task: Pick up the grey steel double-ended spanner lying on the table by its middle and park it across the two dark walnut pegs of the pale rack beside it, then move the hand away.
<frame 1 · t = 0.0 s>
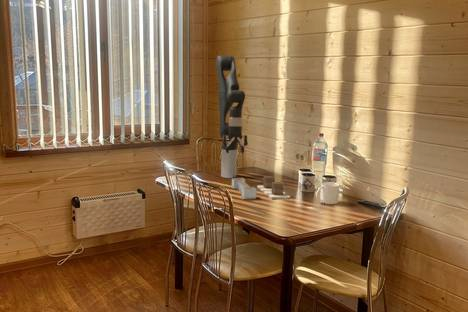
hand: (234, 153, 265), 17 cm above the table, tool pointing down, fingers open, 8 cm apart
peg rack: (272, 192, 246), on the table
mug: (326, 202, 231), on the table
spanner: (243, 192, 244), on the table
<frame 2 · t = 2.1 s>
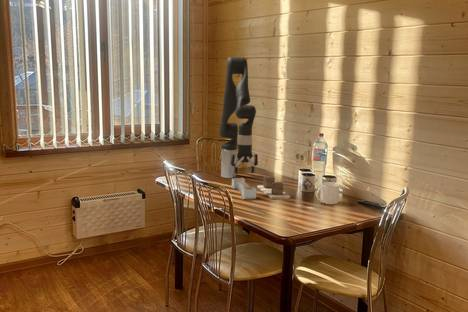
hand: (244, 173, 242), 11 cm above the table, tool pointing down, fingers open, 8 cm apart
nothing on the table moved.
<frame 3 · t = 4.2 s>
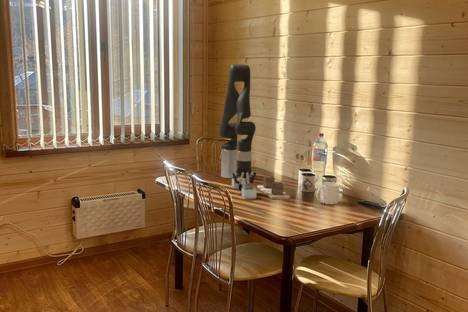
hand: (243, 190, 244), 1 cm above the table, tool pointing down, fingers closed on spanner, 3 cm apart
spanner: (243, 192, 244), on the table, touching gripper
everything else where it was.
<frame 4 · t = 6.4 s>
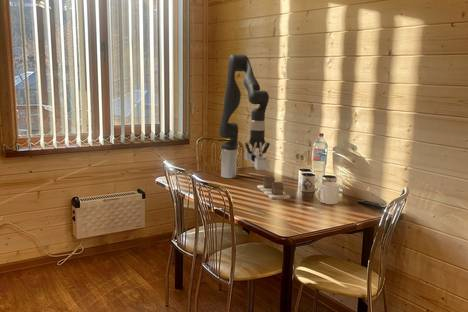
hand: (256, 161, 242), 17 cm above the table, tool pointing down, fingers closed on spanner, 3 cm apart
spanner: (256, 163, 242), point 16 cm above the table, touching gripper
everything else where it was.
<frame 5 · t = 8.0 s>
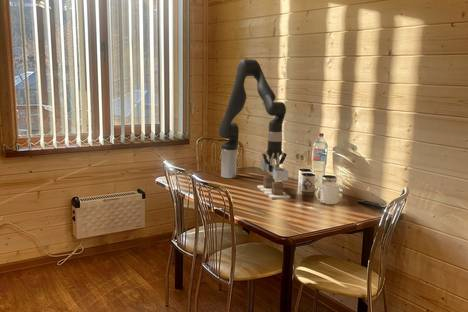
hand: (273, 171, 244), 12 cm above the table, tool pointing down, fingers closed on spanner, 3 cm apart
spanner: (273, 174, 245), point 10 cm above the table, touching gripper
everything else where it was.
when the fingers open (10 cm above the table, at t = 9.0 s): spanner drops 1 cm, resting on peg rack.
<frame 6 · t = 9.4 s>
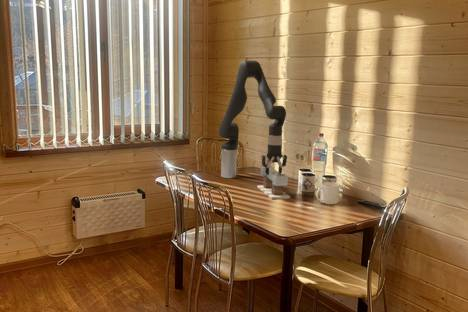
hand: (273, 174, 245), 10 cm above the table, tool pointing down, fingers open, 6 cm apart
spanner: (273, 179, 245), point 7 cm above the table, touching peg rack
everything else where it was.
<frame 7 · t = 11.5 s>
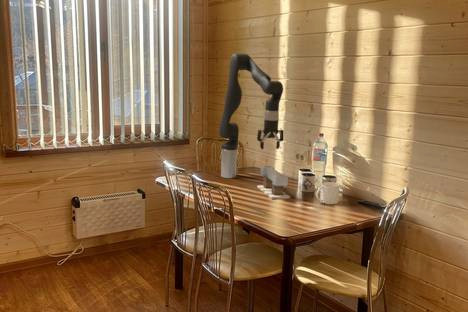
hand: (269, 148, 246), 23 cm above the table, tool pointing down, fingers open, 8 cm apart
nothing on the table moved.
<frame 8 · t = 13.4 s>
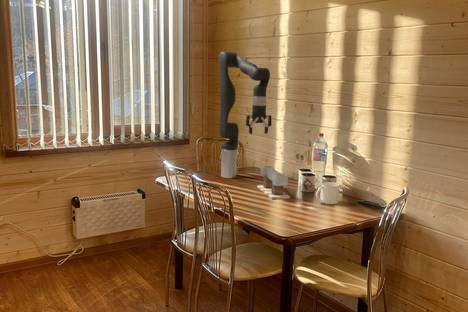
hand: (258, 133, 253), 30 cm above the table, tool pointing down, fingers open, 8 cm apart
nothing on the table moved.
at the end: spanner 0.2 cm off-centre on the peg rack, point 7.0 cm above the peg rack's base; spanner touching peg rack; the gripper is holding nothing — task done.
